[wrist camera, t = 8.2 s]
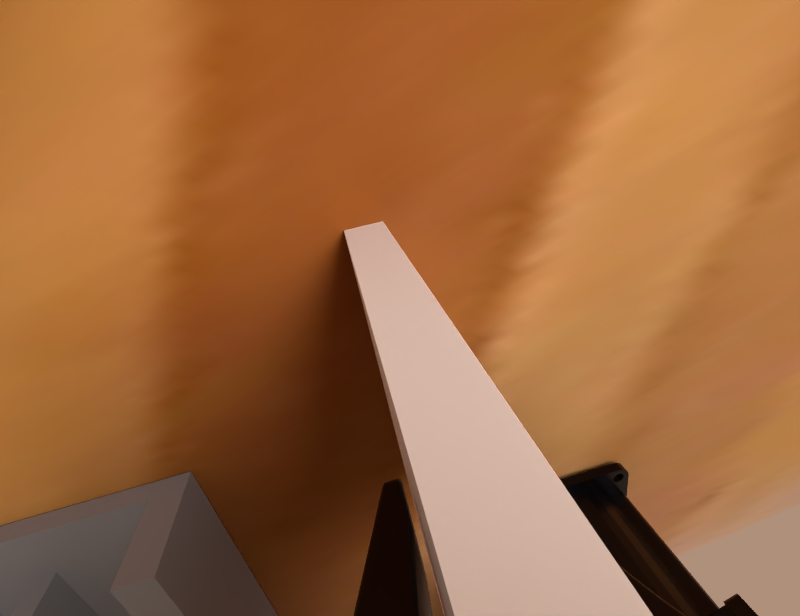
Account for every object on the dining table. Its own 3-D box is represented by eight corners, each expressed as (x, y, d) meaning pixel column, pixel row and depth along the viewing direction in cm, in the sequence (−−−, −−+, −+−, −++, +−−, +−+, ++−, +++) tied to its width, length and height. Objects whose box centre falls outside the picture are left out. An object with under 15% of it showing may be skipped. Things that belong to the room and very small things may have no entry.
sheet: (382, 220, 12) (663, 628, 2) (427, 438, 16) (601, 917, 7) (343, 230, 12) (478, 696, 2) (398, 446, 16) (532, 946, 6)
